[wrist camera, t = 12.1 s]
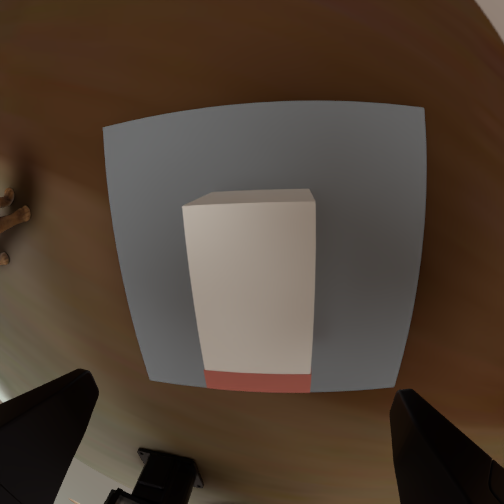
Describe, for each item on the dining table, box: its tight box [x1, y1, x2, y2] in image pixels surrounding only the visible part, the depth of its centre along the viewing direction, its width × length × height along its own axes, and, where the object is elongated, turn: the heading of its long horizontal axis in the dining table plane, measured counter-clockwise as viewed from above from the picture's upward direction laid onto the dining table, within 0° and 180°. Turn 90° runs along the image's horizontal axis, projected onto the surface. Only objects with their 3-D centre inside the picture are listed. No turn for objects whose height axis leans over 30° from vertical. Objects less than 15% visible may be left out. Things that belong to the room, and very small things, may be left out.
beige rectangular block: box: [182, 189, 316, 393], centre depth 14 cm, size 5×9×5 cm, turn 3°
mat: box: [103, 101, 427, 392], centre depth 17 cm, size 18×18×1 cm
